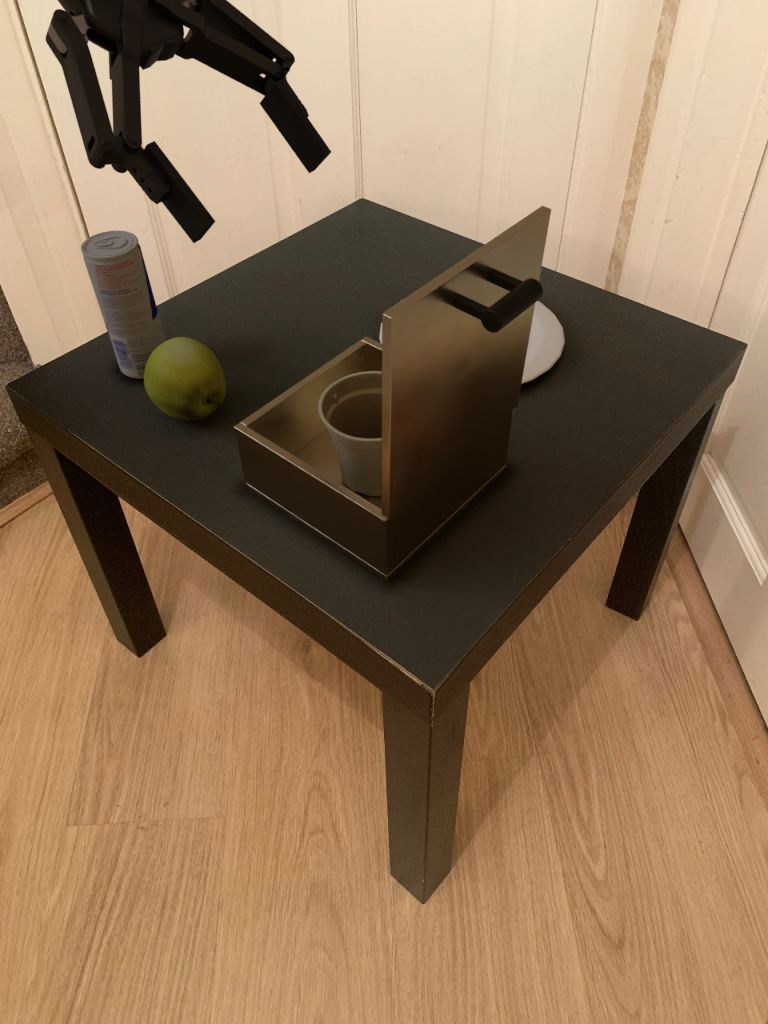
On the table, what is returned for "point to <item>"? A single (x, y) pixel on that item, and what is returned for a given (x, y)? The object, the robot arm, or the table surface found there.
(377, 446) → the flower pot
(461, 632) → the table surface
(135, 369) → the beverage can
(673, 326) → the table surface
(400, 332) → the lid
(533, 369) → the plate
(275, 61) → the robot arm
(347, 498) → the bronze square open box
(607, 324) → the table surface
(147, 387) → the apple
